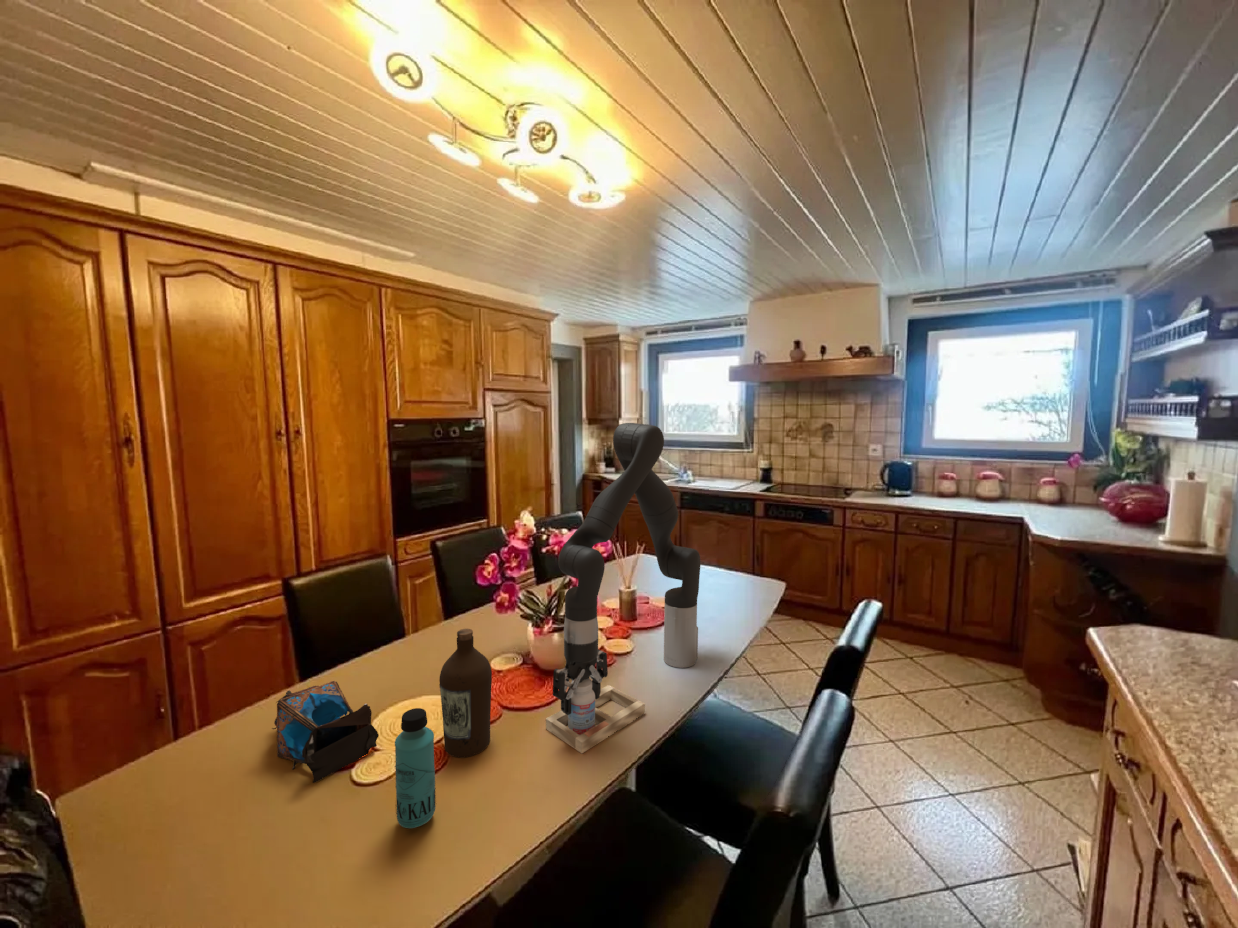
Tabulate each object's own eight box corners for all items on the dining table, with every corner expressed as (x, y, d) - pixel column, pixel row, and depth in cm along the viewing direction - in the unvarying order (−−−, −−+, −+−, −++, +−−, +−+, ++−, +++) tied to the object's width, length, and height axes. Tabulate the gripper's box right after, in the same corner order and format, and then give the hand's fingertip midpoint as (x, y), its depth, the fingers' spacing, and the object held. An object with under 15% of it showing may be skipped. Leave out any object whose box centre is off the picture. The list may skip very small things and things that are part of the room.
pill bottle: (573, 741, 111) (572, 691, 110) (564, 725, 116) (564, 678, 115) (599, 734, 113) (599, 686, 112) (589, 719, 119) (589, 673, 118)
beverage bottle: (403, 809, 91) (399, 703, 89) (441, 807, 92) (438, 701, 90) (390, 839, 85) (385, 725, 83) (431, 836, 86) (428, 723, 84)
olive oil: (461, 724, 116) (458, 618, 114) (502, 733, 113) (500, 624, 111) (430, 754, 106) (426, 638, 104) (474, 765, 103) (472, 645, 101)
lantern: (352, 797, 103) (290, 747, 116) (399, 714, 110) (336, 676, 123) (284, 786, 91) (223, 731, 104) (342, 694, 98) (278, 654, 112)
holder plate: (608, 694, 129) (608, 684, 129) (644, 713, 121) (644, 702, 121) (545, 729, 115) (545, 717, 115) (581, 753, 107) (581, 741, 106)
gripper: (593, 621, 120) (592, 687, 122) (544, 640, 110) (545, 711, 111) (615, 630, 115) (615, 699, 117) (567, 651, 105) (567, 726, 106)
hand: (581, 705), depth 114 cm, fingers open, 8 cm apart
